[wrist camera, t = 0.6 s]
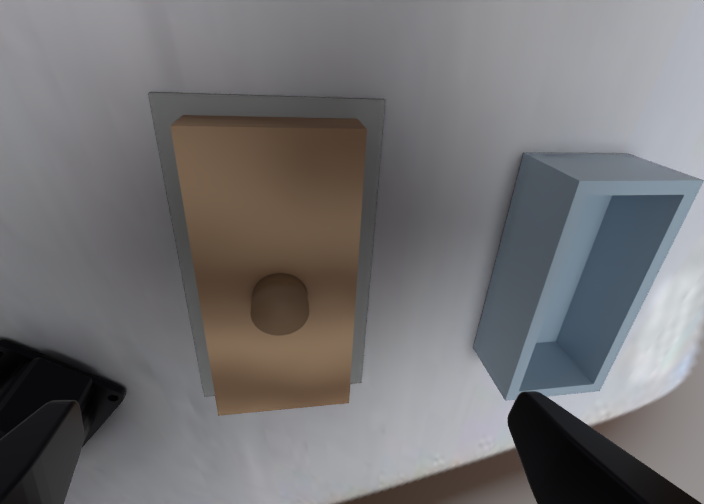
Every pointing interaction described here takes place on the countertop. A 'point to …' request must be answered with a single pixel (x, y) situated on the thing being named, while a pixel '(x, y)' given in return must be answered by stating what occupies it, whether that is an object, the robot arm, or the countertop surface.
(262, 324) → the walnut lid
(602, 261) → the ceramic dish
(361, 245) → the rubber mat
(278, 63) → the countertop surface
